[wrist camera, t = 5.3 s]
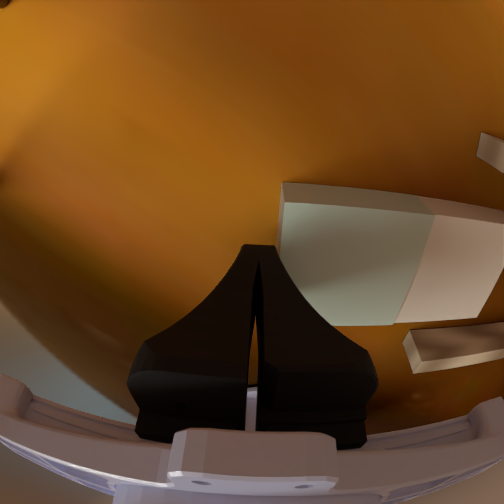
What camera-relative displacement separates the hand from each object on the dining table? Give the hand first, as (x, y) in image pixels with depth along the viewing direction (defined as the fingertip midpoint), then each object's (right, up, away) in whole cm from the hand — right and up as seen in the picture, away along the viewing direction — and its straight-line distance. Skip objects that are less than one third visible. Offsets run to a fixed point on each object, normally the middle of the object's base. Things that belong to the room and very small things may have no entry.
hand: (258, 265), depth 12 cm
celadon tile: (+4, +1, +1) cm, 4 cm away
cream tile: (+10, +1, +1) cm, 10 cm away
